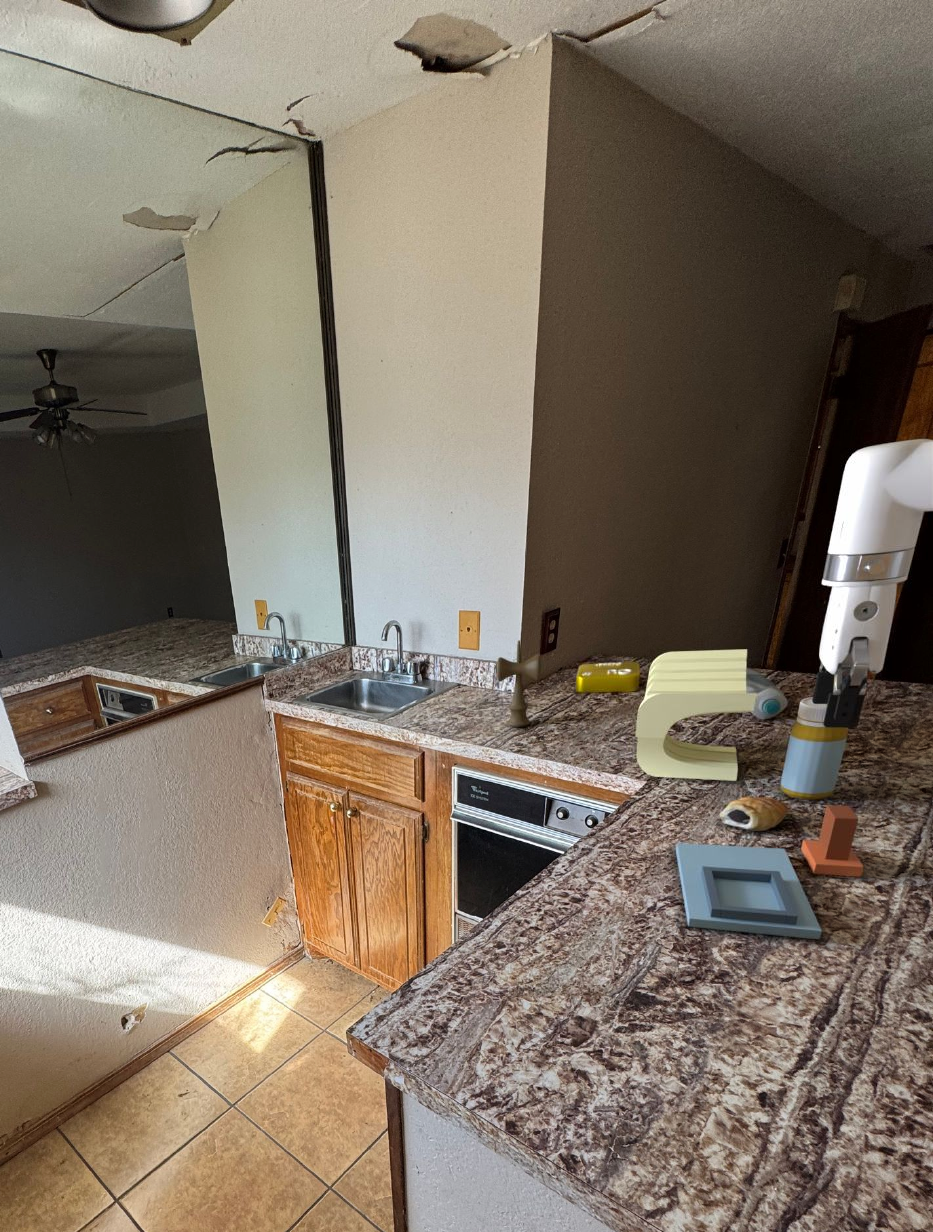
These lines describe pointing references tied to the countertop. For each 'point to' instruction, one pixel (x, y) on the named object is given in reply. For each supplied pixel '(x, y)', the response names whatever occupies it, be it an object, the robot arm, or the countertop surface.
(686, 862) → the back board
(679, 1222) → the countertop surface
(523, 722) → the kendama
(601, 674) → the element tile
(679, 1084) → the countertop surface
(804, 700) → the bottle
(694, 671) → the slatted curved stool
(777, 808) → the pastry
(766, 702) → the detergent
